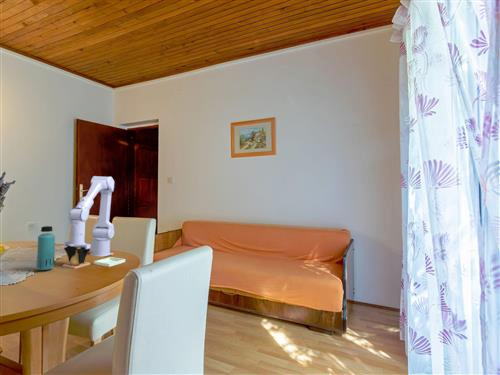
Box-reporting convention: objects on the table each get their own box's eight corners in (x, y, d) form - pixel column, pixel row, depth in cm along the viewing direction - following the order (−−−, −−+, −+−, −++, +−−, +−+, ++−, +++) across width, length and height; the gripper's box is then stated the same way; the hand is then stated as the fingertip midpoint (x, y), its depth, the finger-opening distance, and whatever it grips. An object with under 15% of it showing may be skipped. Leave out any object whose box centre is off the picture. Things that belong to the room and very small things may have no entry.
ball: (67, 265, 128) (68, 255, 128) (77, 263, 133) (77, 253, 133) (75, 267, 127) (75, 256, 127) (85, 264, 131) (85, 254, 131)
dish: (62, 267, 127) (62, 264, 127) (78, 263, 135) (78, 260, 135) (74, 269, 125) (74, 267, 125) (90, 265, 132) (90, 262, 132)
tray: (93, 265, 133) (93, 261, 133) (110, 260, 142) (110, 256, 142) (109, 267, 129) (109, 264, 129) (125, 262, 139) (125, 259, 139)
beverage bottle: (44, 274, 117) (46, 227, 117) (31, 272, 119) (33, 226, 119) (57, 269, 124) (59, 225, 124) (45, 268, 125) (47, 225, 125)
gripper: (58, 233, 128) (57, 262, 128) (81, 236, 124) (79, 266, 124) (72, 231, 135) (71, 259, 135) (94, 234, 130) (93, 262, 130)
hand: (76, 262), depth 130 cm, fingers open, 6 cm apart
